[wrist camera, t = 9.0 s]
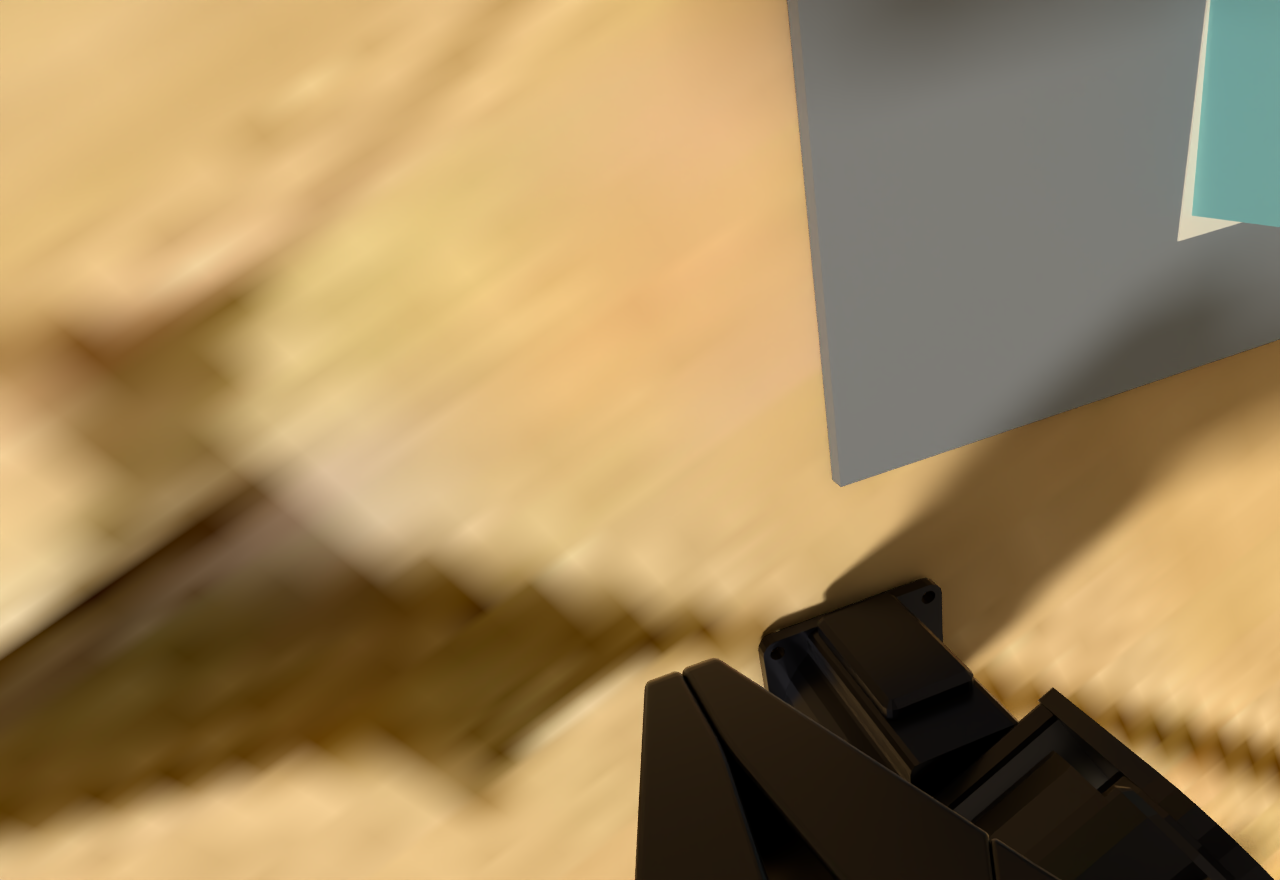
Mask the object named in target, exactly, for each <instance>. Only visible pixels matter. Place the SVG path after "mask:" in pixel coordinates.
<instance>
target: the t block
mask: <svg viewBox="0 0 1280 880" xmlns="http://www.w3.org/2000/svg"><path fill="white" fill-rule="evenodd" d="M1192 216H1199V217H1206V218H1214V219H1221V220H1229V221H1236V222H1244V223H1252V224H1259V225H1267V226H1274V227H1280V0H1210V10H1209V22H1208V33H1207V45H1206V57H1205V68H1204V80H1203V91H1202V103H1201V115H1200V126H1199V138H1198V150H1197V161H1196V173H1195V184H1194V196H1193V208H1192Z"/></svg>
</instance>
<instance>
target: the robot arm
mask: <svg viewBox="0 0 1280 880" xmlns="http://www.w3.org/2000/svg"><path fill="white" fill-rule="evenodd" d="M925 593H926V594H925ZM924 594H925V595H924ZM776 647H778V649H777V650H775V651H774V652H772V651H773V649H775V648H776ZM758 651H759V657H760V663H761V669H762V676H763V682H764V688H765V689H764V688H763V687H761V686H760V685H758V684H757V683H755V682H754V681H752V680H751V679H749V678H747V677H746V676H744V675H743V674H741V673H740V672H738V671H737V670H735V669H734V668H732V667H730V666H729V665H727V664H726V663H724V662H723V661H721V660H719V659H716V658H711V659H708V660H705V661H702V662H700V663H697V664H694V665H691V666H689V667H686V668H685V669H684V670H683V673H682V674H681V673H679V672H672V673H669V674H667V675H664V676H661V677H658V678H656V679H653V680H650V681H648V682H647V684H646V686H645V693H644V713H643V732H642V752H641V771H640V791H639V810H638V830H637V849H636V869H635V880H1274V879H1273V878H1272V877H1271V876H1270V875H1269V874H1268V873H1267V872H1266V871H1265V870H1264V869H1263V868H1262V867H1261V866H1260V865H1259V864H1258V863H1257V862H1256V861H1255V860H1254V859H1253V858H1252V857H1251V856H1250V855H1249V854H1248V853H1247V852H1246V851H1245V850H1244V849H1243V848H1242V847H1241V846H1240V845H1239V844H1238V843H1237V842H1236V841H1235V840H1234V839H1233V838H1232V837H1231V836H1230V835H1228V834H1227V833H1226V832H1225V831H1224V830H1223V829H1222V828H1221V827H1220V826H1219V825H1218V824H1217V823H1216V822H1215V821H1213V820H1212V819H1211V818H1210V817H1209V816H1208V815H1207V814H1206V813H1205V812H1204V811H1203V810H1201V809H1200V808H1199V807H1198V806H1197V805H1196V804H1195V803H1194V802H1192V801H1191V800H1190V799H1189V798H1188V797H1187V796H1186V795H1184V794H1183V793H1182V792H1181V791H1180V790H1179V789H1178V788H1176V787H1175V786H1174V785H1173V784H1172V783H1170V782H1169V781H1168V780H1167V779H1166V778H1164V777H1163V776H1162V775H1161V774H1160V773H1158V772H1157V771H1156V770H1155V769H1153V768H1152V767H1151V766H1150V765H1149V764H1147V763H1146V762H1145V761H1144V760H1142V759H1141V758H1140V757H1139V756H1137V755H1136V754H1135V753H1134V752H1132V751H1131V750H1130V749H1129V748H1127V747H1126V746H1125V745H1124V744H1123V743H1121V742H1120V741H1119V740H1118V739H1116V738H1115V737H1114V736H1113V735H1111V734H1110V733H1109V732H1108V731H1106V730H1105V729H1104V728H1103V727H1101V726H1100V725H1099V724H1098V723H1097V722H1095V721H1094V720H1093V719H1092V718H1090V717H1089V716H1088V715H1087V714H1085V713H1084V712H1083V711H1082V710H1080V709H1079V708H1078V707H1077V706H1075V705H1074V704H1073V703H1072V702H1071V701H1069V700H1068V699H1067V698H1066V697H1064V696H1063V695H1062V694H1061V693H1059V692H1058V691H1057V690H1056V689H1054V688H1051V689H1050V690H1049V691H1048V692H1047V693H1046V694H1044V695H1043V696H1042V697H1041V698H1040V699H1039V700H1038V701H1039V702H1040V704H1039V705H1038V706H1036V707H1035V708H1034V709H1033V710H1032V711H1031V712H1030V713H1028V714H1027V715H1026V716H1025V717H1024V718H1023V719H1021V720H1020V721H1018V720H1017V719H1016V718H1015V717H1014V716H1013V715H1012V714H1011V713H1010V712H1009V711H1008V710H1007V709H1006V708H1005V707H1004V706H1003V705H1002V704H1001V703H1000V702H999V701H998V700H997V699H996V698H995V697H994V696H993V695H992V694H991V693H990V692H989V691H988V690H987V689H986V688H985V687H984V686H983V685H982V684H981V683H980V682H979V681H978V680H977V679H975V678H974V677H973V673H972V672H971V670H970V669H969V668H968V667H967V666H966V665H965V664H964V663H963V662H962V661H961V660H960V659H959V658H958V657H957V656H956V655H955V654H954V653H953V652H952V651H951V650H950V649H948V648H947V647H946V646H945V645H944V644H943V634H942V592H941V588H940V587H939V586H938V585H936V584H935V583H934V582H933V581H932V580H931V579H928V578H923V579H919V580H916V581H914V582H911V583H908V584H905V585H903V586H900V587H897V588H895V589H892V590H889V591H886V592H884V593H881V594H878V595H875V596H873V597H870V598H867V599H864V600H862V601H859V602H856V603H854V604H851V605H848V606H845V607H843V608H840V609H837V610H834V611H832V612H829V613H826V614H824V615H821V616H818V617H815V618H813V619H810V620H807V621H804V622H802V623H799V624H796V625H793V626H791V627H788V628H785V629H783V630H780V631H777V632H774V633H772V634H770V635H768V636H766V637H765V638H764V639H763V640H762V641H761V642H760V644H759V650H758Z"/></svg>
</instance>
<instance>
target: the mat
mask: <svg viewBox="0 0 1280 880" xmlns="http://www.w3.org/2000/svg"><path fill="white" fill-rule="evenodd" d="M787 4H788V15H789V25H790V36H791V46H792V57H793V68H794V78H795V89H796V99H797V110H798V121H799V131H800V142H801V152H802V163H803V173H804V184H805V195H806V205H807V216H808V226H809V237H810V248H811V258H812V269H813V279H814V290H815V301H816V311H817V322H818V332H819V343H820V353H821V364H822V375H823V385H824V396H825V406H826V417H827V428H828V438H829V449H830V459H831V470H832V480H833V481H834V482H836V483H837V484H838V485H839V486H840V487H842V486H845V485H848V484H851V483H854V482H857V481H860V480H863V479H866V478H869V477H872V476H875V475H878V474H881V473H884V472H887V471H890V470H893V469H896V468H899V467H902V466H905V465H908V464H911V463H914V462H917V461H920V460H923V459H926V458H929V457H932V456H935V455H938V454H940V453H943V452H946V451H949V450H952V449H955V448H958V447H961V446H964V445H967V444H970V443H973V442H976V441H979V440H982V439H985V438H988V437H991V436H994V435H997V434H1000V433H1003V432H1006V431H1009V430H1012V429H1015V428H1018V427H1021V426H1024V425H1027V424H1030V423H1033V422H1036V421H1039V420H1042V419H1045V418H1048V417H1050V416H1053V415H1056V414H1059V413H1062V412H1065V411H1068V410H1071V409H1074V408H1077V407H1080V406H1083V405H1086V404H1089V403H1092V402H1095V401H1098V400H1101V399H1104V398H1107V397H1110V396H1113V395H1116V394H1119V393H1122V392H1125V391H1128V390H1131V389H1134V388H1137V387H1140V386H1143V385H1146V384H1149V383H1152V382H1155V381H1158V380H1160V379H1163V378H1166V377H1169V376H1172V375H1175V374H1178V373H1181V372H1184V371H1187V370H1190V369H1193V368H1196V367H1199V366H1202V365H1205V364H1208V363H1211V362H1214V361H1217V360H1220V359H1223V358H1226V357H1229V356H1232V355H1235V354H1238V353H1241V352H1244V351H1247V350H1250V349H1253V348H1256V347H1259V346H1262V345H1265V344H1267V343H1270V342H1273V341H1276V340H1279V339H1280V227H1274V226H1267V225H1259V224H1252V223H1244V222H1236V221H1229V220H1221V219H1214V218H1206V217H1199V216H1192V208H1193V196H1194V184H1195V173H1196V161H1197V150H1198V138H1199V126H1200V115H1201V103H1202V91H1203V80H1204V68H1205V57H1206V45H1207V33H1208V22H1209V10H1210V0H787Z"/></svg>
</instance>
